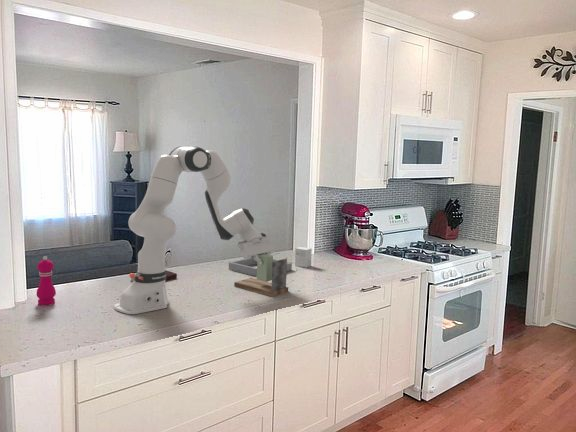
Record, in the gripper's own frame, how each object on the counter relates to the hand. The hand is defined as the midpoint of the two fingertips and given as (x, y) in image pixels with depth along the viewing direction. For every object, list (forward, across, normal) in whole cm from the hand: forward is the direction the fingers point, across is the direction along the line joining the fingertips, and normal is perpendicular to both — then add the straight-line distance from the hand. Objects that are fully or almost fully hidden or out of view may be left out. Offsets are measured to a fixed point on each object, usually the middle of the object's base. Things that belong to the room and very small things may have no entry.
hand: (266, 262), depth 237 cm
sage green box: (+6, 0, +6) cm, 8 cm away
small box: (-2, +53, +22) cm, 57 cm away
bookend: (+8, 0, +11) cm, 13 cm away
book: (-26, -26, +46) cm, 59 cm away
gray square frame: (-10, +28, +29) cm, 42 cm away
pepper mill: (-26, -80, +45) cm, 96 cm away
